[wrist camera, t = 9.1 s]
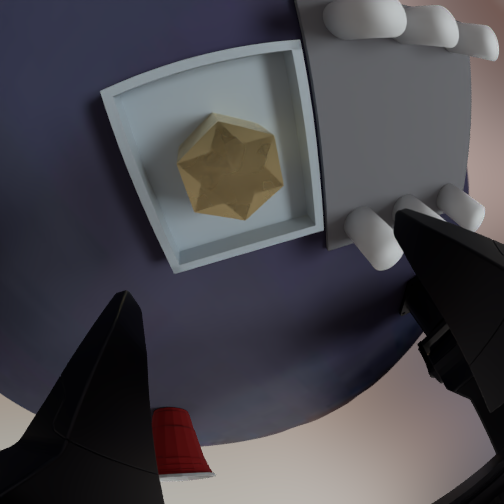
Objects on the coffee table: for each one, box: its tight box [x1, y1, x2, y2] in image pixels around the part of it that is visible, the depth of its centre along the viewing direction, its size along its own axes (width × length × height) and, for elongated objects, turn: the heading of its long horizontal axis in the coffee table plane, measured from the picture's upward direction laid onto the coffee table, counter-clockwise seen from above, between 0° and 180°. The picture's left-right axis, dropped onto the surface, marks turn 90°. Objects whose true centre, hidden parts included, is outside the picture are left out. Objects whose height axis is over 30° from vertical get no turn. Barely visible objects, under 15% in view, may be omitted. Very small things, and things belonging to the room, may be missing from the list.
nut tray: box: [100, 40, 324, 274], centre depth 16 cm, size 13×11×2 cm
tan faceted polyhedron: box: [177, 112, 284, 221], centre depth 15 cm, size 6×5×4 cm
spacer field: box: [294, 0, 499, 270], centre depth 16 cm, size 20×17×5 cm
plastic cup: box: [152, 407, 215, 481], centre depth 33 cm, size 11×11×12 cm
